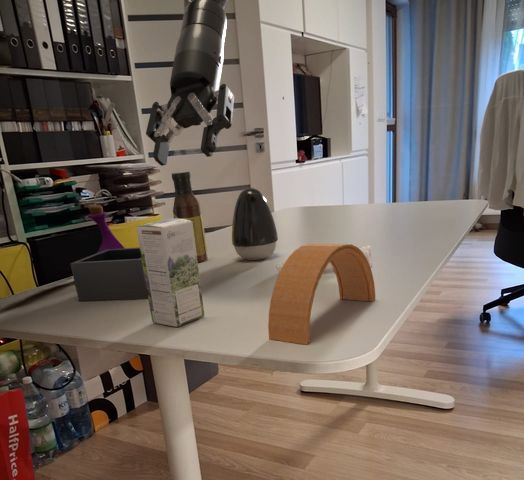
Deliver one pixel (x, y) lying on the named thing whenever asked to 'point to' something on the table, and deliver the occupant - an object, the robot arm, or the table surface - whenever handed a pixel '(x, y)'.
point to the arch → (315, 286)
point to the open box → (110, 275)
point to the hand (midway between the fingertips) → (182, 158)
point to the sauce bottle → (189, 210)
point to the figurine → (365, 250)
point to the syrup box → (171, 271)
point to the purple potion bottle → (103, 226)
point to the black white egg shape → (253, 226)
